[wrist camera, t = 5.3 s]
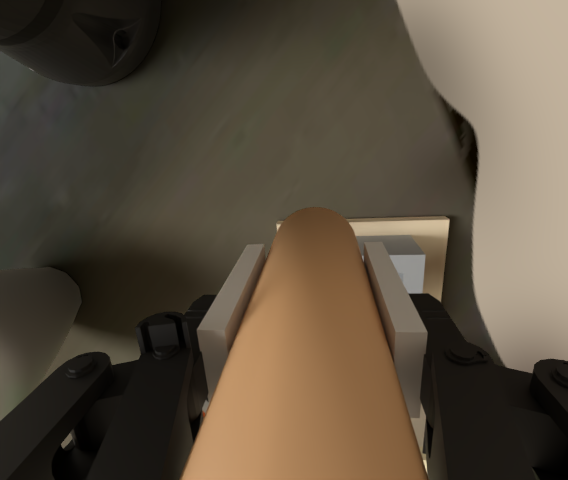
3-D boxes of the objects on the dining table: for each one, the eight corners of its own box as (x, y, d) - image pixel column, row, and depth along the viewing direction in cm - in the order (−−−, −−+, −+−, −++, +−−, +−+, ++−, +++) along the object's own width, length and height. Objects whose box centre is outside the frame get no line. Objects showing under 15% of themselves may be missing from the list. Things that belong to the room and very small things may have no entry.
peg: (271, 208, 18) (-24, 732, 3) (357, 205, 17) (632, 842, 2) (277, 284, 19) (111, 904, 4) (356, 284, 18) (511, 996, 3)
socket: (312, 237, 33) (310, 256, 28) (410, 234, 32) (425, 254, 27) (314, 318, 36) (313, 348, 31) (404, 319, 35) (417, 350, 30)
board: (278, 220, 34) (276, 224, 33) (445, 215, 32) (449, 219, 31) (289, 394, 41) (288, 401, 40) (426, 398, 39) (429, 406, 38)
